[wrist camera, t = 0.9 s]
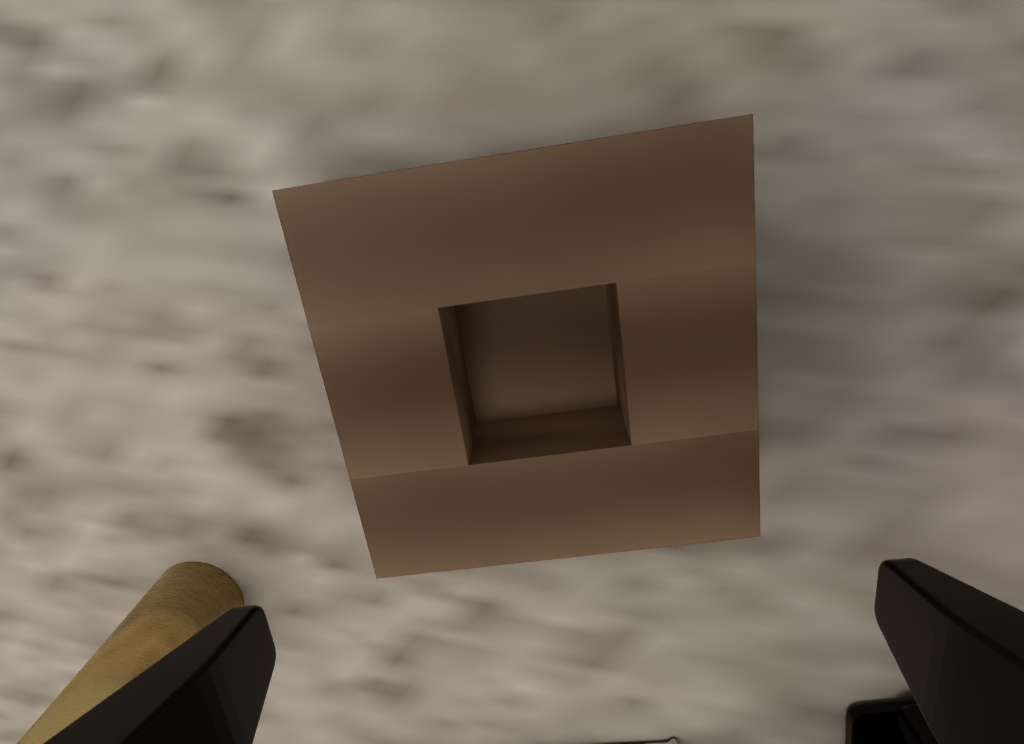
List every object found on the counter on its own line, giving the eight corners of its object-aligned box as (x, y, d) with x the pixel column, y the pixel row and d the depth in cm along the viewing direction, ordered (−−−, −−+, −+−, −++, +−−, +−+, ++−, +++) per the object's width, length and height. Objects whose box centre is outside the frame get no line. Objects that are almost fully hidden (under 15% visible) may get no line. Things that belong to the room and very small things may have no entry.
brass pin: (253, 627, 26) (118, 865, 17) (174, 636, 26) (0, 874, 17) (228, 557, 24) (69, 774, 16) (145, 567, 25) (-56, 785, 16)
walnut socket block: (721, 472, 23) (760, 536, 19) (401, 509, 23) (376, 578, 20) (707, 121, 19) (752, 114, 15) (321, 182, 19) (272, 190, 16)
